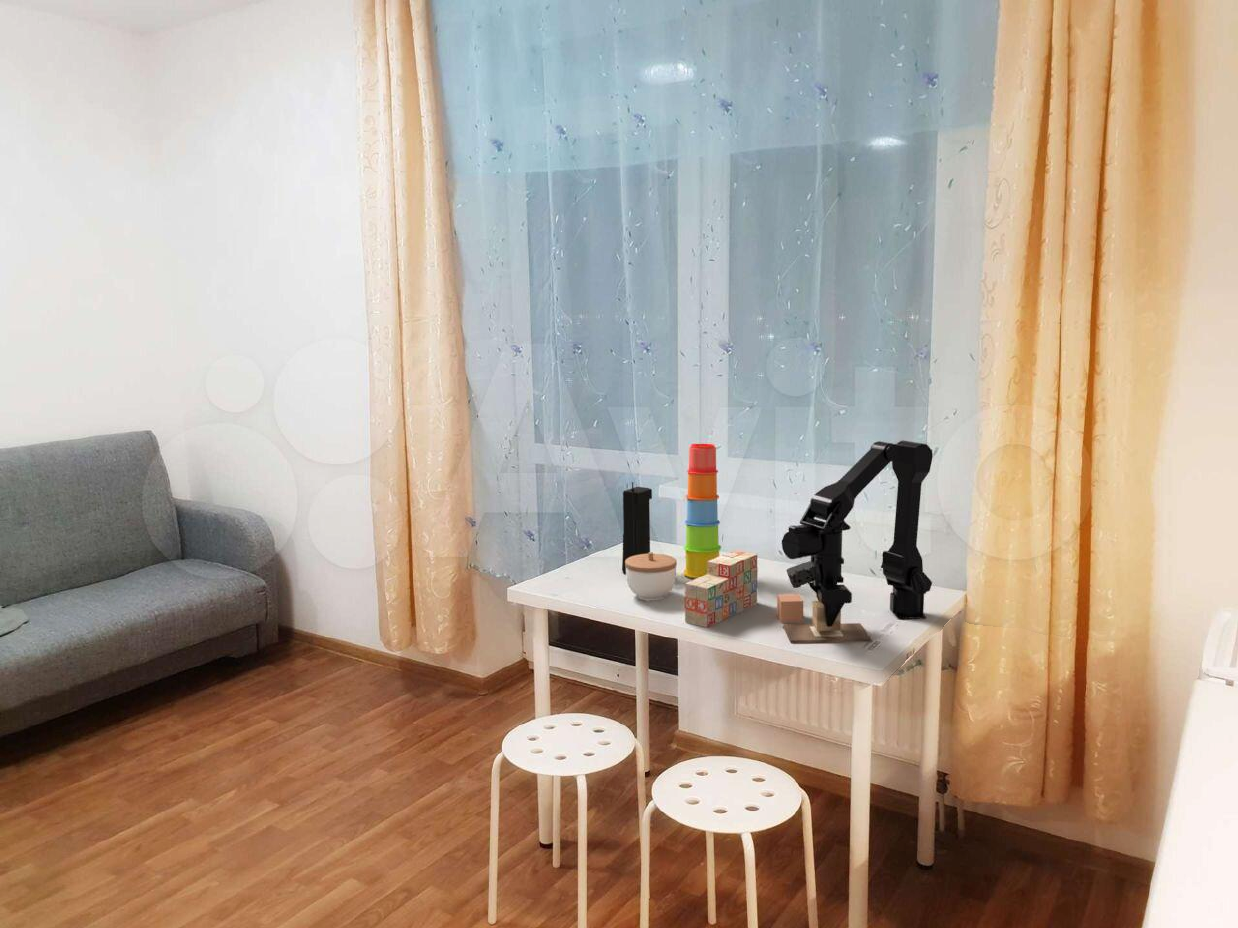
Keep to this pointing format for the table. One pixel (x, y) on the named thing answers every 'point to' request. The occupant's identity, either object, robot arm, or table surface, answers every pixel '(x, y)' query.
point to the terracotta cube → (789, 608)
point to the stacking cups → (701, 510)
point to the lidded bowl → (651, 575)
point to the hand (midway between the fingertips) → (826, 621)
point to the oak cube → (823, 618)
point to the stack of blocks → (722, 589)
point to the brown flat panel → (826, 633)
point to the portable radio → (636, 522)
